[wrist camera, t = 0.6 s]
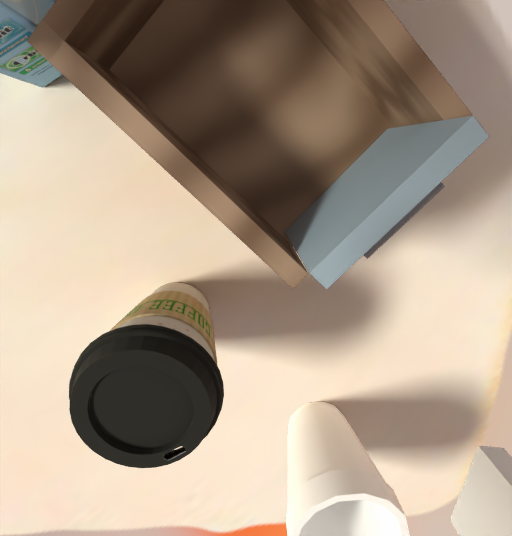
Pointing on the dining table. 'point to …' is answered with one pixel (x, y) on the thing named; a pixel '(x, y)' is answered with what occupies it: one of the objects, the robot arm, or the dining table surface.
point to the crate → (249, 96)
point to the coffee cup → (150, 381)
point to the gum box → (24, 42)
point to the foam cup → (335, 480)
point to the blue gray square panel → (380, 193)
